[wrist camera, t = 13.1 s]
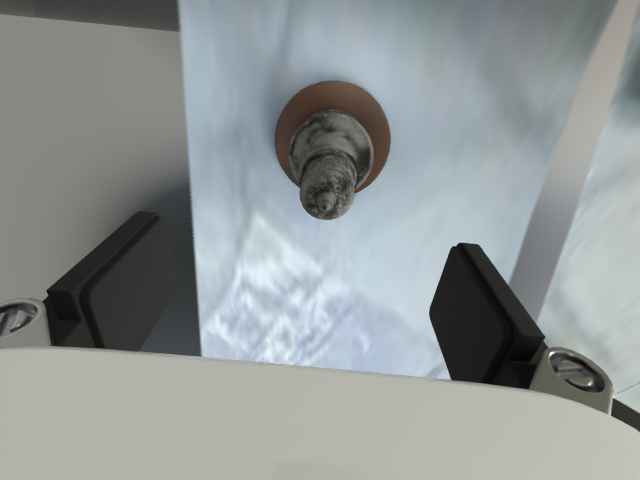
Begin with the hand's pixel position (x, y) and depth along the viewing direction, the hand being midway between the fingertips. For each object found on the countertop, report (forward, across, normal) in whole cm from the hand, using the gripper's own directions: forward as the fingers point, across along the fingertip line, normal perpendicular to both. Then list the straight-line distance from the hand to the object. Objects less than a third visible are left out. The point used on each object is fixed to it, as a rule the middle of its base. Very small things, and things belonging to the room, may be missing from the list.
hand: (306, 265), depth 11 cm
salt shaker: (+17, -1, 0) cm, 17 cm away
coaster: (+18, -1, 0) cm, 18 cm away
